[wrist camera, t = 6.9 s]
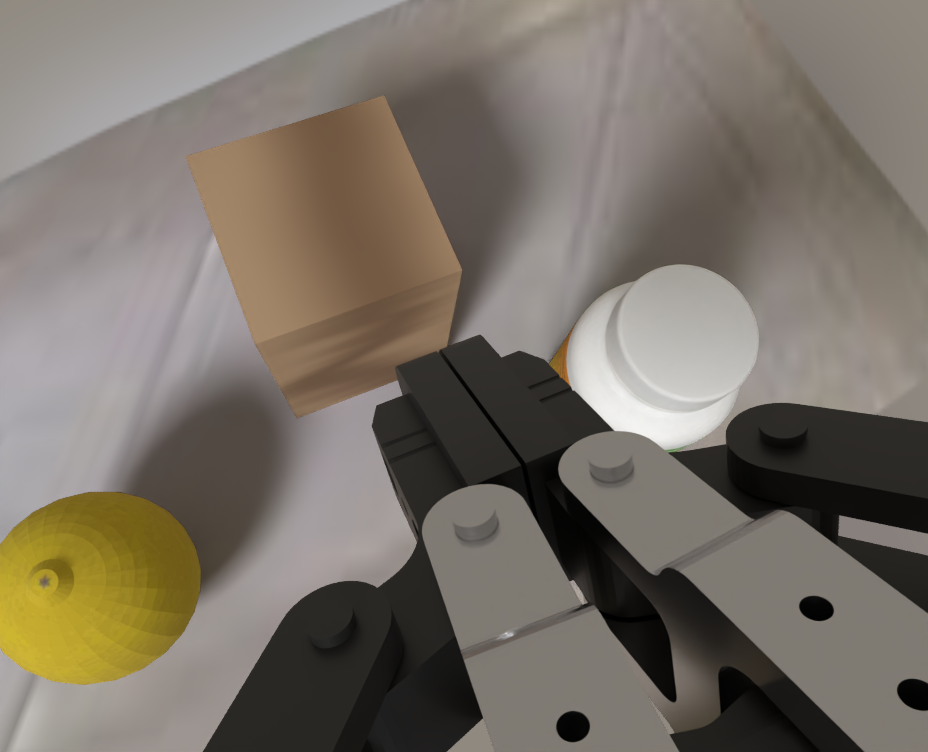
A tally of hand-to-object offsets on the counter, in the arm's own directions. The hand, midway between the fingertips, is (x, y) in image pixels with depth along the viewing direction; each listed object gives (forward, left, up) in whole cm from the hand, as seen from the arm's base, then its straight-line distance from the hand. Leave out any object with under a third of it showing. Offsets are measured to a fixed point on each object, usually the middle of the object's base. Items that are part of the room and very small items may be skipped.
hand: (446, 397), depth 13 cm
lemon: (-10, +1, -17) cm, 19 cm away
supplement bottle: (+8, +1, -17) cm, 18 cm away
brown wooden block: (0, +8, -16) cm, 18 cm away
